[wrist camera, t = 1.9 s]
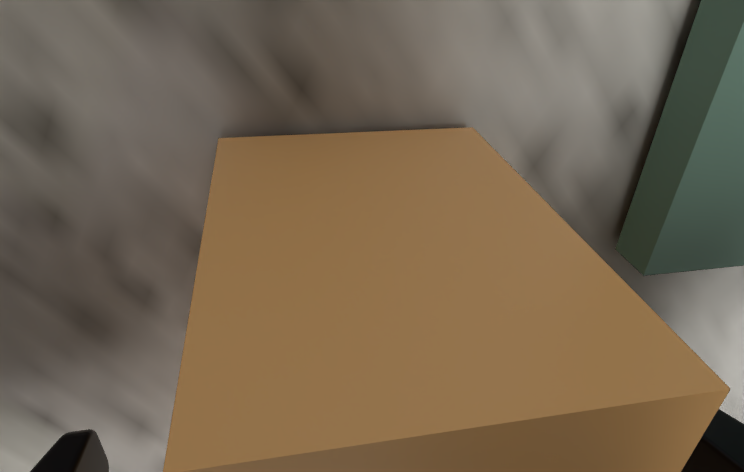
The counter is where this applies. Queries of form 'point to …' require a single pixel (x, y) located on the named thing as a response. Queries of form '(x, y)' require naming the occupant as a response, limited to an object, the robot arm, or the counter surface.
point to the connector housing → (417, 322)
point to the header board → (695, 157)
